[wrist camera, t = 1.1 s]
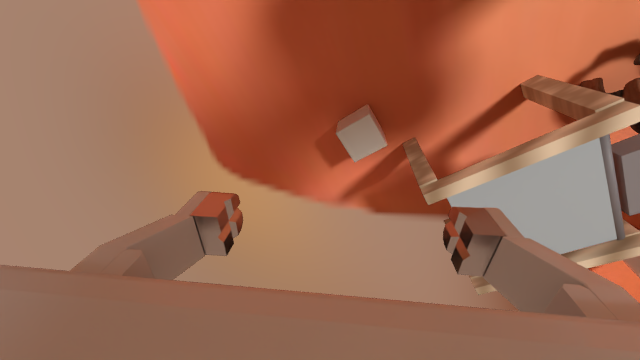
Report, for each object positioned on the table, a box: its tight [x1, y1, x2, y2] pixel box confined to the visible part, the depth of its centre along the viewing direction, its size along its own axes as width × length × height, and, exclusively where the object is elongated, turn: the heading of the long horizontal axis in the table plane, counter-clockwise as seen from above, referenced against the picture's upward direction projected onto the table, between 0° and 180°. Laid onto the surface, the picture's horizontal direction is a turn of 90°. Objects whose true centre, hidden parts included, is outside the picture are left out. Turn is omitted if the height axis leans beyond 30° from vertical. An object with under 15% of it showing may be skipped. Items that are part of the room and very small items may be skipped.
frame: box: [402, 75, 640, 295], centre depth 33 cm, size 18×19×14 cm
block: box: [336, 104, 387, 162], centre depth 36 cm, size 5×5×5 cm
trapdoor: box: [447, 134, 640, 254], centre depth 28 cm, size 18×14×2 cm
